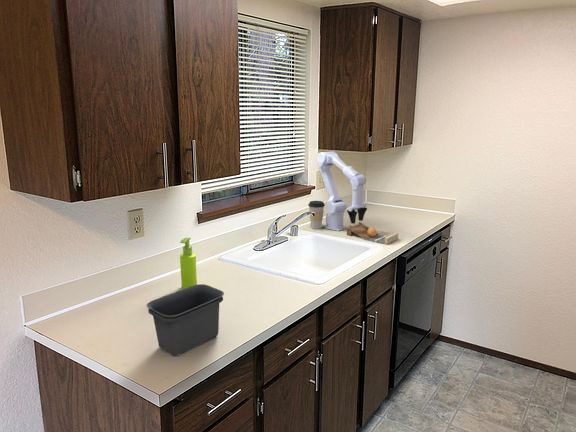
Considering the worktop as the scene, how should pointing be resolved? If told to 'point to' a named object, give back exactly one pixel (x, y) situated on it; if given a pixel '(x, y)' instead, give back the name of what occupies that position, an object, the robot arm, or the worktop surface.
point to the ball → (371, 232)
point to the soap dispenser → (188, 265)
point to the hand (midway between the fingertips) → (356, 221)
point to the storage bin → (186, 317)
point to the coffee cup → (316, 213)
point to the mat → (383, 238)
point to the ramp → (358, 230)
